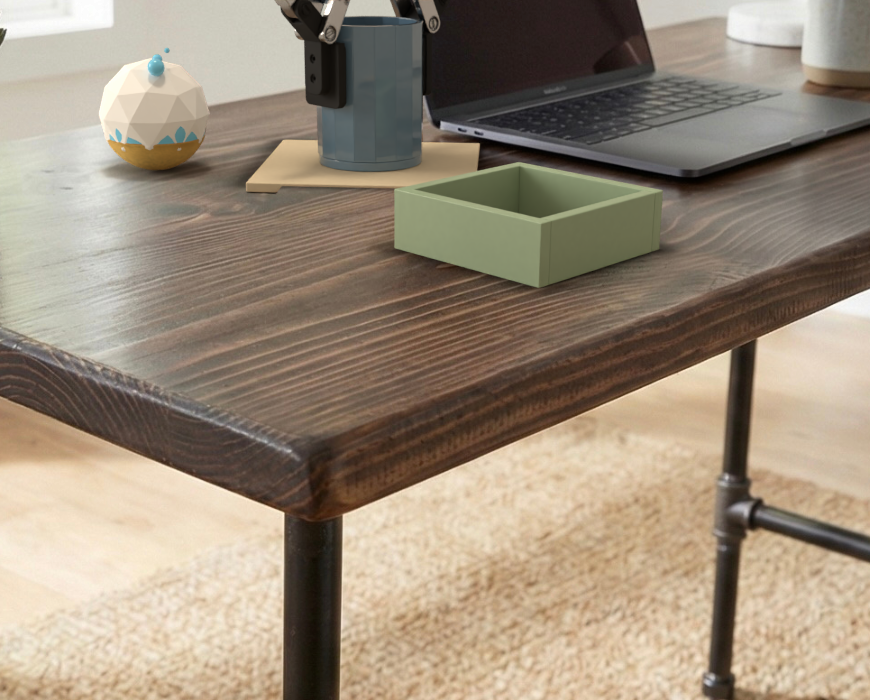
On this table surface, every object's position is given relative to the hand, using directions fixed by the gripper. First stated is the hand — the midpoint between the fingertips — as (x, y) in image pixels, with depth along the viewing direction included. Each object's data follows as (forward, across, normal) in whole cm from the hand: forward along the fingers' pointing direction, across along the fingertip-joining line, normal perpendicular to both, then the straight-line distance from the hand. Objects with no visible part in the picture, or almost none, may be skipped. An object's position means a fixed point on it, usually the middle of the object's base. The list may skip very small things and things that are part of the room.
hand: (370, 97), depth 84 cm
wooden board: (+5, 0, 0) cm, 5 cm away
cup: (+4, 0, 0) cm, 4 cm away
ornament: (+5, -10, +10) cm, 15 cm away
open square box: (+5, -8, -21) cm, 23 cm away
